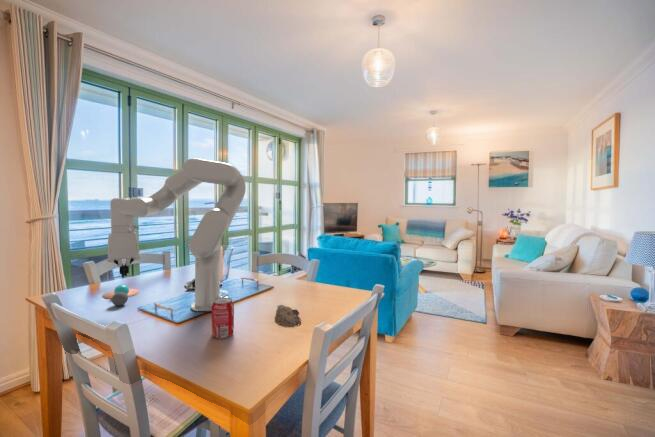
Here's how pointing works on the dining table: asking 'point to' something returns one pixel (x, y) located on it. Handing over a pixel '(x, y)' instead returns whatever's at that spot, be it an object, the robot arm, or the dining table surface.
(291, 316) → the oyster shell
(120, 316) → the dining table surface
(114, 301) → the grey rounded lump
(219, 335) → the soda can
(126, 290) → the object ball
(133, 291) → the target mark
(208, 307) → the robot arm
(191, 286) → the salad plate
